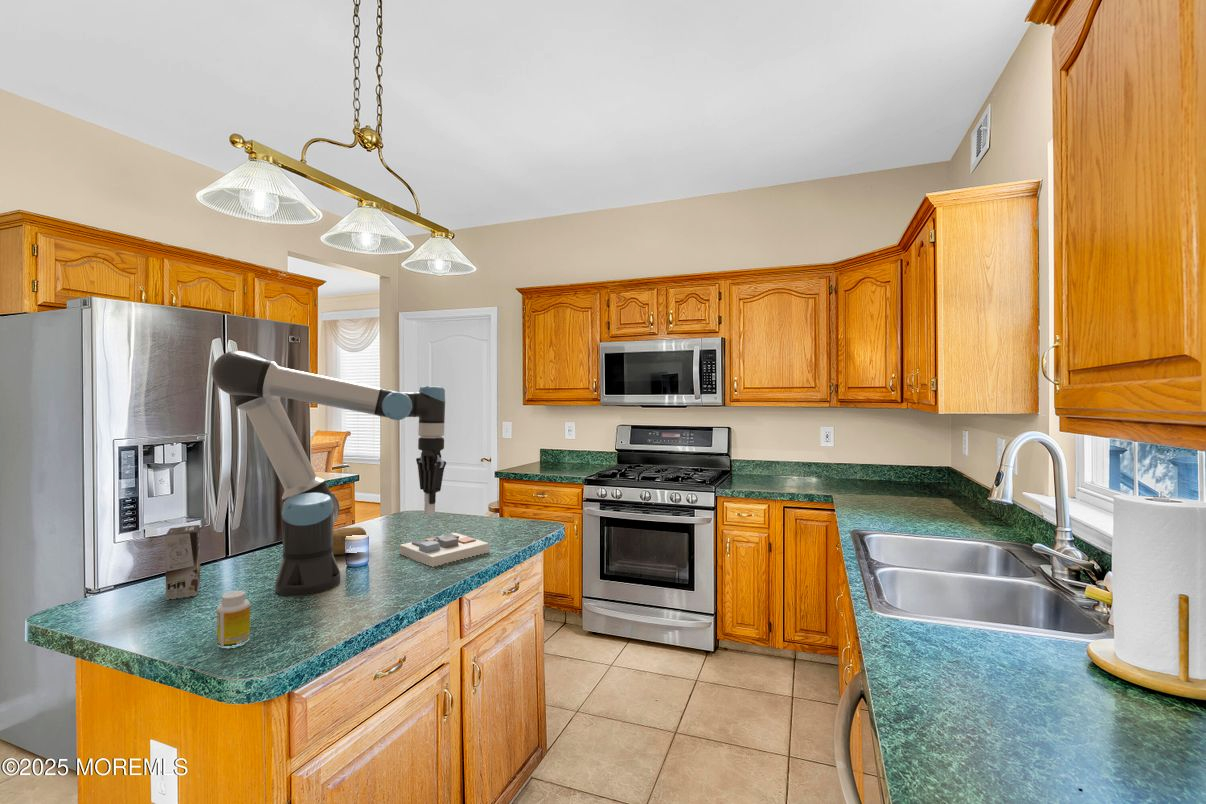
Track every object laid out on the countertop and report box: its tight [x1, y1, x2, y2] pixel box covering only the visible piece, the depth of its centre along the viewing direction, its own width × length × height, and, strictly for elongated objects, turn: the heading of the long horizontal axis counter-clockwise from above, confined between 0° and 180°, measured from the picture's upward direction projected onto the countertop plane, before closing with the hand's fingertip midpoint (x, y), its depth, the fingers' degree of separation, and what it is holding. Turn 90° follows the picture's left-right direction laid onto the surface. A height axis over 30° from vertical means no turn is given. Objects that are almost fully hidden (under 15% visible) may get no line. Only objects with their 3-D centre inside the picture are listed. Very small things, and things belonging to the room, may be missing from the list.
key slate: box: [419, 540, 440, 553], centre depth 167 cm, size 4×4×3 cm
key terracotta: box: [458, 536, 476, 544], centre depth 177 cm, size 4×4×3 cm
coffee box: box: [165, 524, 201, 601], centre depth 139 cm, size 9×6×16 cm
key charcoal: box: [438, 536, 458, 548], centre depth 172 cm, size 4×4×3 cm
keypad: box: [399, 532, 490, 568], centre depth 173 cm, size 20×19×4 cm
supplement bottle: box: [216, 590, 251, 646], centre depth 111 cm, size 6×6×10 cm
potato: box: [333, 526, 367, 556], centre depth 172 cm, size 10×14×8 cm
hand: (429, 514), depth 168 cm, fingers closed
